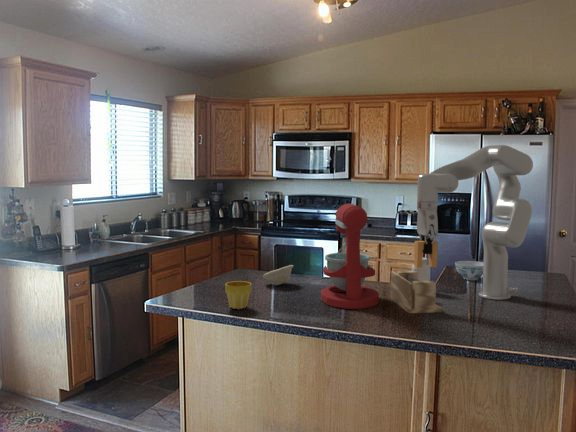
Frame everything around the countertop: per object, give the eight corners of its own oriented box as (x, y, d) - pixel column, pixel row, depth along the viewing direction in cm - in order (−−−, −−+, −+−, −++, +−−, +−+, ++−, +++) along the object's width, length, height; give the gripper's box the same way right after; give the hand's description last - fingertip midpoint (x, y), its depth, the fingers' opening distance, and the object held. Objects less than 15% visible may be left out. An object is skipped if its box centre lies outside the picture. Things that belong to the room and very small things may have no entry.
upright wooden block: (433, 265, 206) (434, 240, 205) (436, 267, 203) (437, 241, 202) (414, 266, 205) (414, 240, 204) (417, 267, 202) (417, 242, 201)
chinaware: (449, 276, 263) (450, 261, 262) (478, 275, 265) (478, 260, 264) (462, 282, 248) (463, 266, 247) (492, 281, 250) (493, 265, 249)
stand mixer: (370, 290, 233) (371, 201, 229) (387, 309, 202) (388, 206, 198) (317, 291, 232) (317, 201, 228) (325, 310, 200) (326, 206, 197)
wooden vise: (420, 297, 220) (420, 270, 219) (442, 312, 197) (442, 282, 196) (390, 298, 219) (390, 271, 218) (408, 313, 196) (409, 283, 195)
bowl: (275, 280, 256) (275, 260, 255) (299, 283, 247) (299, 263, 247) (256, 286, 244) (256, 264, 243) (280, 289, 235) (280, 267, 234)
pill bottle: (430, 294, 225) (431, 260, 224) (411, 293, 227) (411, 259, 226) (429, 290, 233) (429, 257, 232) (410, 289, 235) (411, 256, 233)
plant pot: (255, 305, 208) (255, 281, 207) (245, 312, 198) (245, 287, 197) (232, 303, 211) (231, 280, 211) (220, 310, 202) (220, 285, 201)
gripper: (445, 207, 194) (444, 256, 196) (427, 204, 210) (426, 249, 212) (426, 207, 193) (425, 256, 195) (409, 204, 209) (408, 250, 211)
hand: (425, 252), depth 203 cm, fingers closed on upright wooden block, 3 cm apart
